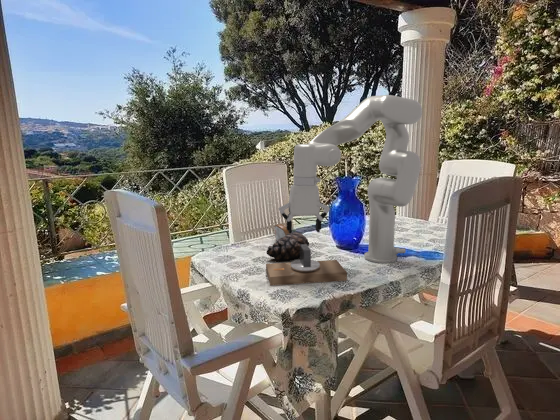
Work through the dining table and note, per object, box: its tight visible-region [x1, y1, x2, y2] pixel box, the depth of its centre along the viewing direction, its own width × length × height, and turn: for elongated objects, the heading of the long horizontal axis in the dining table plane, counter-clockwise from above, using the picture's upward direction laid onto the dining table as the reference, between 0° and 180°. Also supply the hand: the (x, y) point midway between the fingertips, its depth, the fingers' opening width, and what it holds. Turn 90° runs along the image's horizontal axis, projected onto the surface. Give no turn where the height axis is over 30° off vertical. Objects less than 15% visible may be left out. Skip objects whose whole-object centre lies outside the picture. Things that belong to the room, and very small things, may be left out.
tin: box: [273, 223, 290, 241], centre depth 179 cm, size 15×3×8 cm, turn 22°
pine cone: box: [266, 231, 310, 263], centre depth 159 cm, size 10×18×10 cm, turn 132°
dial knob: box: [290, 244, 320, 272], centre depth 141 cm, size 12×10×7 cm
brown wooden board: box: [265, 259, 348, 287], centre depth 141 cm, size 26×13×3 cm, turn 98°
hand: (303, 231), depth 137 cm, fingers open, 9 cm apart
